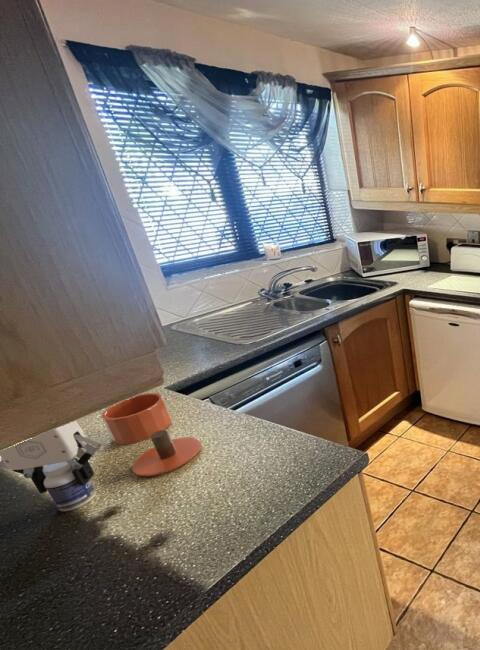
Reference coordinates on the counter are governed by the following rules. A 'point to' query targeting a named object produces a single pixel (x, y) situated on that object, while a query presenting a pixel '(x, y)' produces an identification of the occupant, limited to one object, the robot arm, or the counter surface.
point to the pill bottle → (66, 487)
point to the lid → (166, 454)
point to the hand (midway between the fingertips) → (67, 483)
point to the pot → (137, 418)
